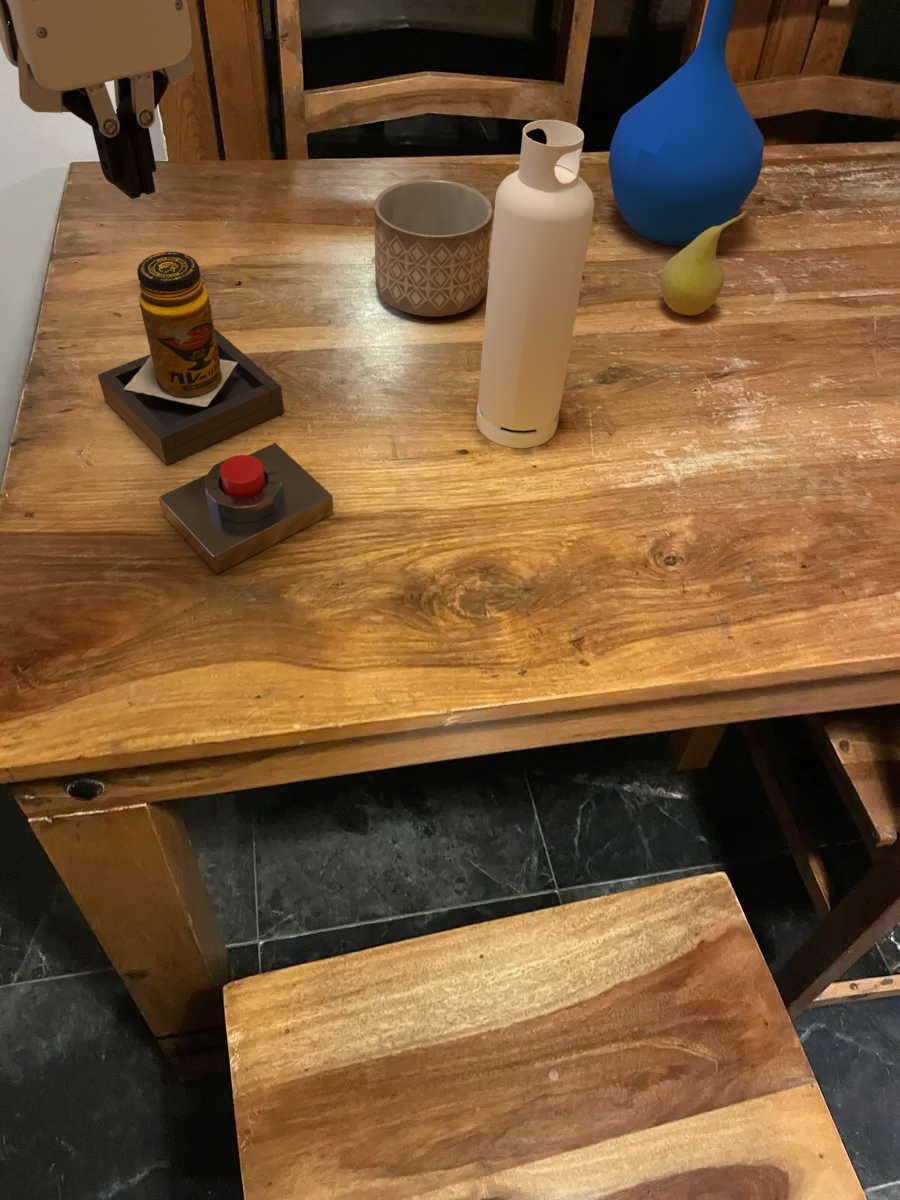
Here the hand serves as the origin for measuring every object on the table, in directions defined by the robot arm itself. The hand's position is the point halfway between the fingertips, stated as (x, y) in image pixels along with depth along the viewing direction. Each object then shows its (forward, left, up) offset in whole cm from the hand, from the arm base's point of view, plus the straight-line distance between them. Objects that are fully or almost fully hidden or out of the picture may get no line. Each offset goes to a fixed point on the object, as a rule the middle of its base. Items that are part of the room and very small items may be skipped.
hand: (133, 187), depth 61 cm
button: (+3, -3, -26) cm, 26 cm away
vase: (+74, +9, -29) cm, 80 cm away
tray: (+7, +13, -29) cm, 33 cm away
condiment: (+7, +14, -26) cm, 30 cm away
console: (+3, -3, -29) cm, 29 cm away
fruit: (+61, -5, -29) cm, 68 cm away
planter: (+39, +15, -29) cm, 51 cm away
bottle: (+31, -8, -29) cm, 43 cm away
